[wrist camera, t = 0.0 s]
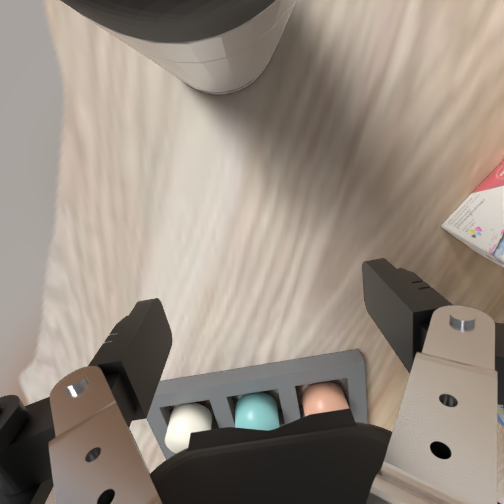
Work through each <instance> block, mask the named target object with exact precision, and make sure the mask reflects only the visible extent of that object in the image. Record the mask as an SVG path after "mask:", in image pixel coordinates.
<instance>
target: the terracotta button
mask: <svg viewBox="0 0 504 504" xmlns="http://www.w3.org/2000/svg"><path fill="white" fill-rule="evenodd" d="M302 404H303V409H304V414H305V416H308V415H310V414H316V413H323V412H329V411H336V410H342V409H349V406H348V404H347V401H346V398H345V396H344V393H343V390H342V388H341V387H340V386H339V385H337V384H335V383H333V382H328V381H324V382H318V383H314V384H312V385H310V386H309V387H307V388H306V389H305V390H304V392H303V394H302Z"/></svg>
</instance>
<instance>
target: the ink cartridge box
mask: <svg viewBox="0 0 504 504" xmlns="http://www.w3.org/2000/svg"><path fill="white" fill-rule="evenodd" d="M441 227H442V228H443V229H445V230H446V231H447V232H449V233H450V234H452V235H453V236H455V237H456V238H457V239H459V240H460V241H461V242H463V243H464V244H466V245H467V246H468V247H470V248H471V249H472V250H474V251H475V252H477V253H478V254H480V255H482V256H484V257H485V258H487V259H489V260H491V261H492V262H494V263H496V264H498V265H499V266H501V267H503V268H504V160H503V161H502V162H501V163H500V164H499V165H498V166H497V167H496V169H495V170H494V171H493V172H492V173H491V174H490V175H489V176H488V177H487V178H486V179H485V180H484V181H483V182H482V183H481V184H480V185H479V186H478V187H477V188H476V189H475V190H474V191H473V193H472V194H471V195H470V196H469V197H468V198H467V199H466V200H465V201H464V202H463V203H462V204H461V205H460V206H459V207H458V208H457V209H456V210H455V211H454V212H453V213H452V214H451V215H450V217H449V218H448V219H447V220H446V221H445V222H444V223H443V224H442V225H441Z"/></svg>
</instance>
